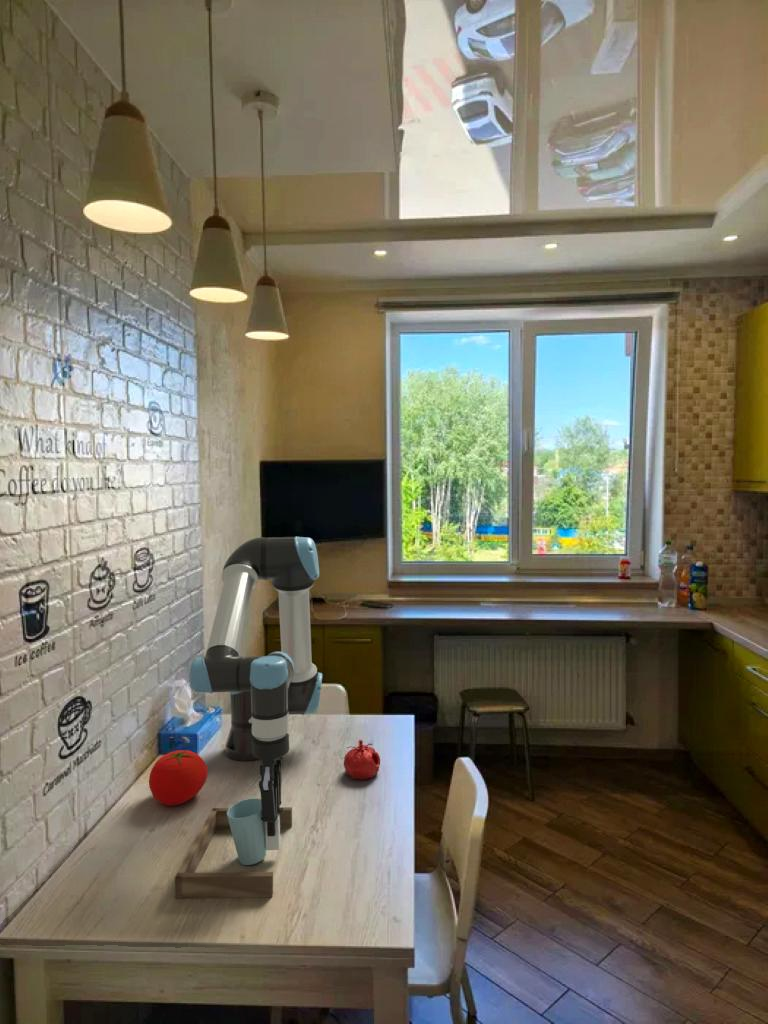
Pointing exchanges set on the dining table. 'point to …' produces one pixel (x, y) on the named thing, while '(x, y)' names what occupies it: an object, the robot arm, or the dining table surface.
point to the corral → (223, 882)
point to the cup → (248, 830)
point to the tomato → (177, 777)
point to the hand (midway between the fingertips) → (273, 847)
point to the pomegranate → (362, 762)
